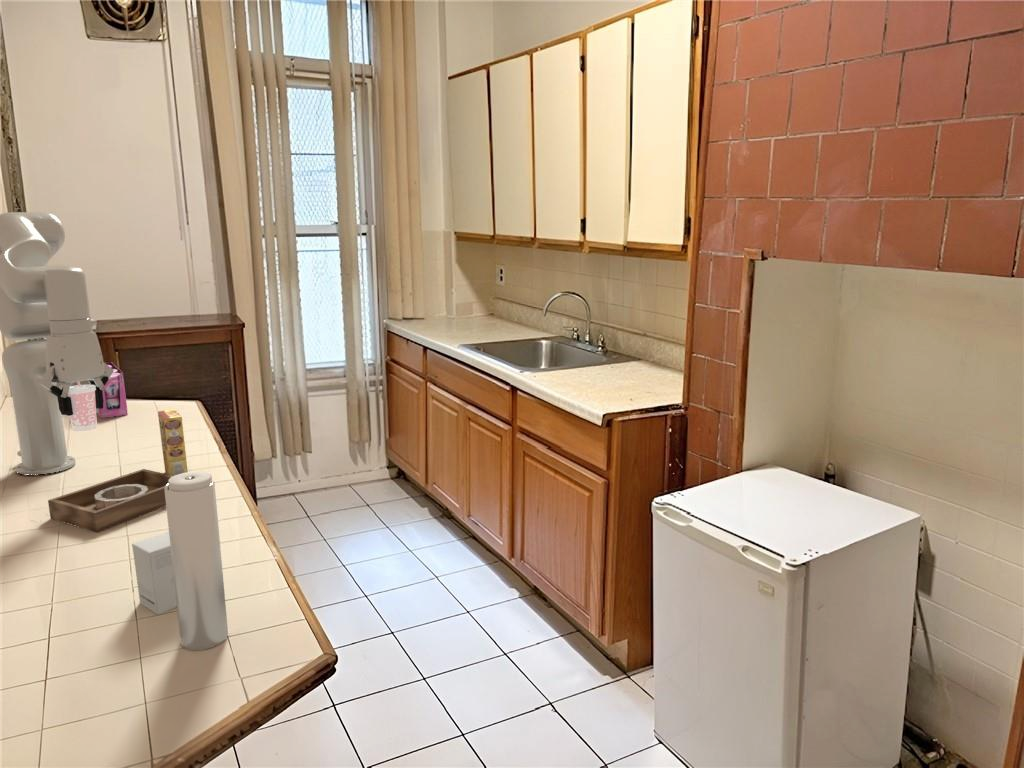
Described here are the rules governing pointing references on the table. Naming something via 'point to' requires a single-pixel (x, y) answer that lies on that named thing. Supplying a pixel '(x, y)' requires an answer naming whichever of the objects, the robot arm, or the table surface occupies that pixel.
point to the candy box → (172, 442)
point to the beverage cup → (83, 407)
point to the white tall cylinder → (196, 560)
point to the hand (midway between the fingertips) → (82, 410)
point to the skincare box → (155, 573)
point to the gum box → (113, 395)
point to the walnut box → (85, 515)
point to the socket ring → (118, 494)
